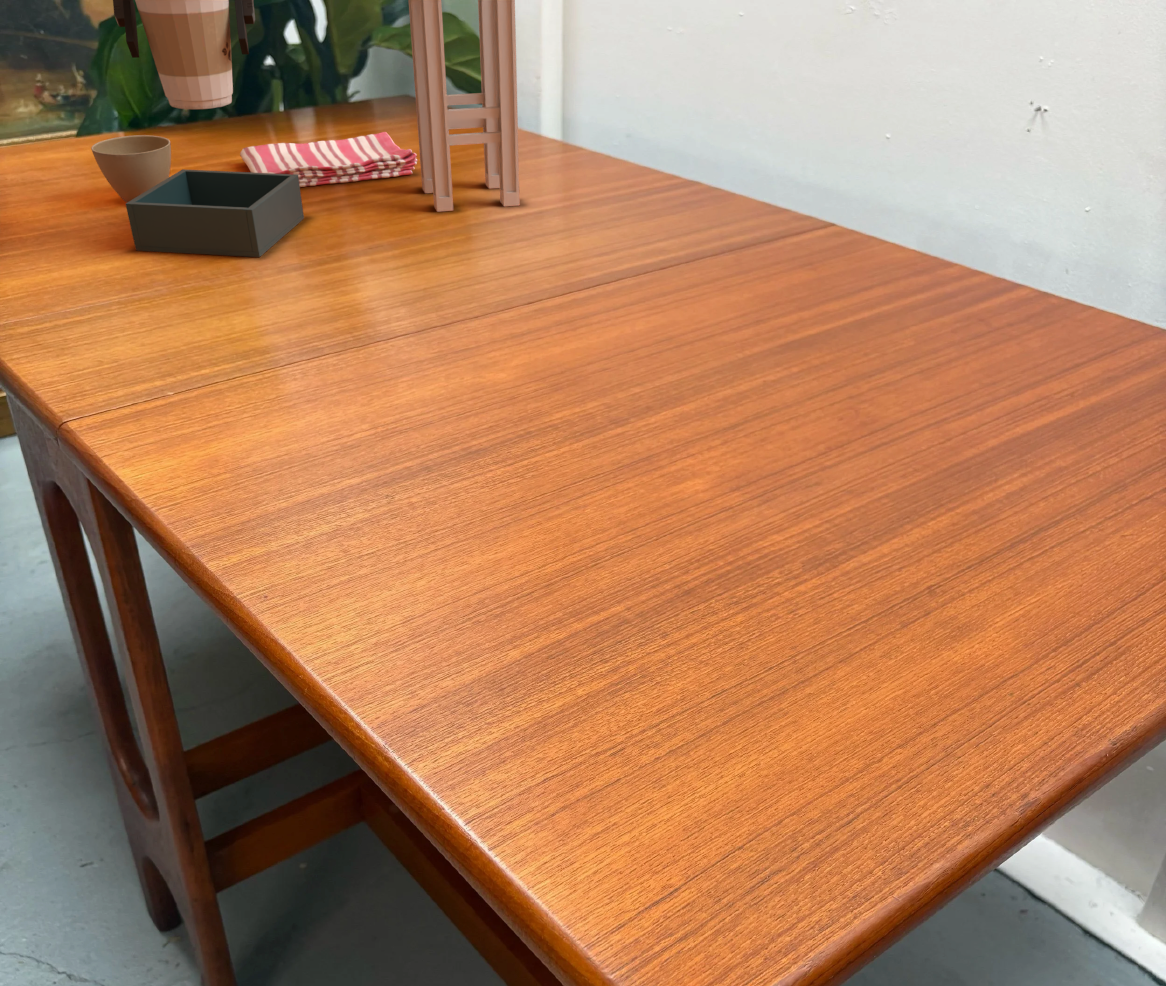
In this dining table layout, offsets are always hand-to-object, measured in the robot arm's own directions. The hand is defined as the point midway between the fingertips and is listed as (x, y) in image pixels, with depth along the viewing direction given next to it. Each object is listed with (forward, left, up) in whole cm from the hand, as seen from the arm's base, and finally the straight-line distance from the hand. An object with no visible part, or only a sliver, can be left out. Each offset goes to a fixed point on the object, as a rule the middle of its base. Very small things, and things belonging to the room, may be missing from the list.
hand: (188, 48), depth 123 cm
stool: (+26, +24, -22) cm, 41 cm away
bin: (-1, +3, -22) cm, 22 cm away
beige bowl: (-18, +16, -22) cm, 33 cm away
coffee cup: (-1, +3, -6) cm, 7 cm away
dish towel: (+2, +35, -22) cm, 41 cm away
